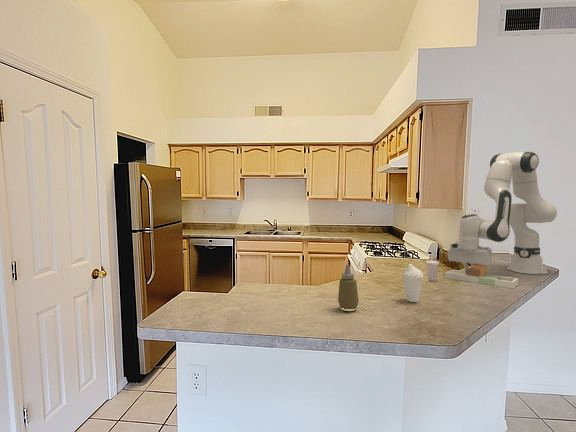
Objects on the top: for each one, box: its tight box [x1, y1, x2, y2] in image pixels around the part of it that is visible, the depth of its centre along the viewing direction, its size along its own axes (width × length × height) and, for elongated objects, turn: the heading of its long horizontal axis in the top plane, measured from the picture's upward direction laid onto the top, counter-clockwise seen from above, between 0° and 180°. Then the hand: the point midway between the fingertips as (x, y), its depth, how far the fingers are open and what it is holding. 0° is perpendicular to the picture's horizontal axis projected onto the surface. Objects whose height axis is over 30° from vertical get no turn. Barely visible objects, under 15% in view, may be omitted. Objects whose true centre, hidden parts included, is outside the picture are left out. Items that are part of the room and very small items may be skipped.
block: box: [471, 264, 487, 277], centre depth 161 cm, size 5×5×5 cm
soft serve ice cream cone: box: [401, 263, 424, 303], centre depth 131 cm, size 8×8×16 cm
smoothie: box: [425, 253, 440, 282], centre depth 165 cm, size 6×6×14 cm
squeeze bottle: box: [337, 264, 359, 309], centre depth 123 cm, size 8×8×18 cm
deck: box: [444, 267, 520, 289], centre depth 161 cm, size 10×30×6 cm, turn 42°
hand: (468, 271), depth 165 cm, fingers closed
